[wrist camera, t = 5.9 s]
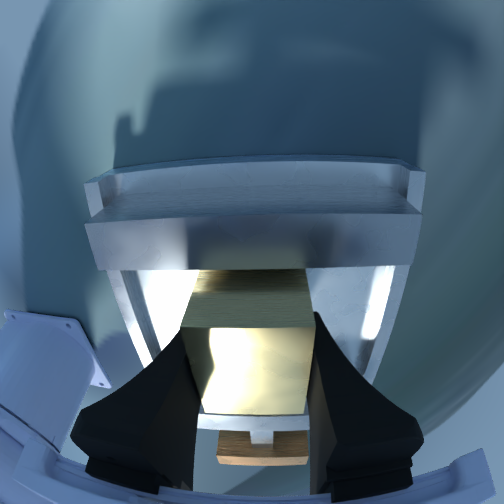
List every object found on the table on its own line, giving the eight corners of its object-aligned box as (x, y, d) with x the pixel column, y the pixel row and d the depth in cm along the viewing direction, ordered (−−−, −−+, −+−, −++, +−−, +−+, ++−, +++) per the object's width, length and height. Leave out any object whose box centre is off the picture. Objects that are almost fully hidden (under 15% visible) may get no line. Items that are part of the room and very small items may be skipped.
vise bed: (169, 378, 21) (155, 428, 17) (109, 169, 13) (54, 201, 9) (357, 377, 20) (368, 429, 16) (402, 158, 12) (453, 189, 8)
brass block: (220, 332, 15) (205, 412, 11) (207, 247, 13) (179, 326, 9) (296, 331, 15) (303, 413, 11) (300, 245, 13) (315, 326, 8)
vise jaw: (195, 432, 22) (190, 460, 20) (169, 373, 18) (159, 409, 16) (332, 432, 22) (336, 461, 19) (353, 372, 17) (362, 410, 15)
